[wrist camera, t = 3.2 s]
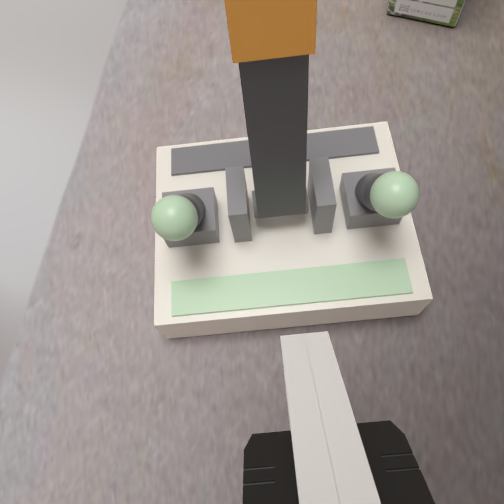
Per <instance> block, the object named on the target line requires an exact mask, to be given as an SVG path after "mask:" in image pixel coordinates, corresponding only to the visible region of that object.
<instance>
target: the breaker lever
mask: <svg viewBox="0 0 504 504" xmlns="http://www.w3.org/2000/svg"><path fill="white" fill-rule="evenodd" d="M224 1H225V9H226V16H227V23H228V30H229V38H230V45H231V52H232V60H233V63H239V70H240V78H241V86H242V94H243V102H244V110H245V118H246V126H247V134H248V142H249V150H250V158H251V165H252V173H253V181H254V189H255V190H253V191H252V200H253V209H254V217H255V219H259V218H269V217H278V216H288V215H298V214H307V213H308V195H307V188H306V158H307V113H308V67H309V54H315V42H316V14H317V0H224Z"/></svg>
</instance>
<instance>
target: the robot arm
mask: <svg viewBox="0 0 504 504" xmlns="http://www.w3.org/2000/svg"><path fill="white" fill-rule="evenodd" d="M280 338H281V348H282V358H283V368H284V378H285V388H286V397H287V407H288V416H289V425H290V431H282V432H271V433H259V434H252V436H251V438H250V440H249V441H248V443H247V445H246V447H245V449H244V472H243V504H435V502H434V500H433V498H432V496H431V493H430V491H429V489H428V487H427V484H426V482H425V480H424V477H423V475H422V473H421V471H420V470H419V466H418V464H417V461H416V459H415V457H414V456H413V453H412V450H411V448H410V446H409V443H408V441H407V439H406V436H405V434H403V433H402V432H401V431H400V430H399V429H398V428H397V427H396V426H395V425H394V424H393V423H392V422H391V421H380V422H368V423H357V424H356V421H355V418H354V415H353V411H352V408H351V405H350V402H349V398H348V395H347V392H346V389H345V386H344V382H343V379H342V376H341V373H340V369H339V366H338V363H337V360H336V357H335V353H334V350H333V347H332V344H331V340H330V337H329V334H328V331H325V332H315V333H304V334H294V335H284V336H280Z"/></svg>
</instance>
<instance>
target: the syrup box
mask: <svg viewBox="0 0 504 504" xmlns="http://www.w3.org/2000/svg"><path fill="white" fill-rule="evenodd" d="M465 1H466V0H389V4H388V8H387V13H388V14H392V15H397V16H402V17H407V18H412V19H417V20H422V21H426V22H431V23H436V24H441V25H446V26H452V27H454V26H456V24H457V22H458V19H459V16H460V14H461V11H462V9H463V6H464V4H465Z"/></svg>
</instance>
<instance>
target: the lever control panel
mask: <svg viewBox="0 0 504 504" xmlns="http://www.w3.org/2000/svg"><path fill="white" fill-rule="evenodd" d="M306 188H307V195H308V213H307V214H298V215H288V216H278V217H269V218H259V219H255V217H254V209H253V200H252V191H253V190H255V189H254V181H253V173H252V165H251V158H250V150H249V142H248V137H244V138H235V139H226V140H217V141H208V142H199V143H190V144H181V145H172V146H163V147H157V167H156V204H155V205H154V207H153V209H152V213H151V223H152V226H153V228H154V230H155V231H156V232H155V297H154V326H155V327H156V328H157V329H158V330H159V331H160V332H161V333H162V334H163V335H164V336H165V337H166V338H167V339H171V338H182V337H192V336H203V335H213V334H224V333H234V332H245V331H255V330H266V329H276V328H287V327H297V326H308V325H318V324H329V323H339V322H350V321H360V320H371V319H381V318H392V317H402V316H413V315H419V314H420V313H421V311H422V310H423V309H424V308H425V307H426V306H427V305H428V304H429V303H430V302H431V300H432V299H433V297H432V293H431V289H430V285H429V281H428V277H427V274H426V270H425V266H424V262H423V258H422V254H421V250H420V246H419V243H418V239H417V235H416V231H415V227H414V223H413V219H412V215H411V211H412V210H413V209H414V208H415V207H416V205H417V203H418V200H419V188H418V185H417V183H416V181H415V180H414V179H413V178H412V177H411V176H410V175H408V174H406V173H404V172H400V169H399V165H398V161H397V157H396V154H395V150H394V146H393V142H392V138H391V134H390V130H389V126H388V123H387V122H378V123H369V124H360V125H351V126H342V127H333V128H324V129H315V130H307V158H306Z"/></svg>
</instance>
